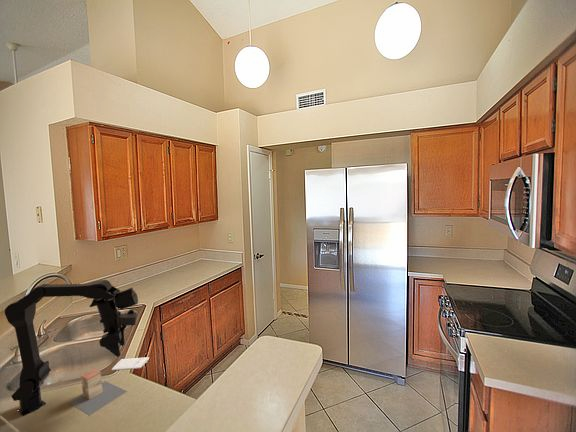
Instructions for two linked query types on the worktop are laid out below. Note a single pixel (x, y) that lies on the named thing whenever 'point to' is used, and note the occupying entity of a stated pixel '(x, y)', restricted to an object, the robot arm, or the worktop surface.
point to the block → (91, 384)
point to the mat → (98, 398)
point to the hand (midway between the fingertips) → (121, 350)
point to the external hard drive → (130, 363)
